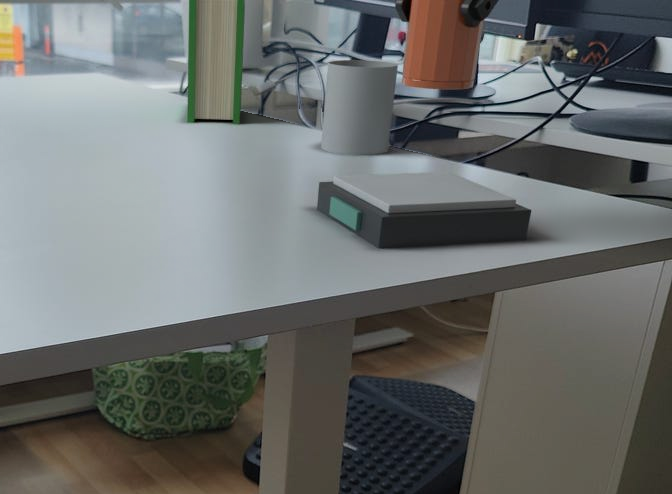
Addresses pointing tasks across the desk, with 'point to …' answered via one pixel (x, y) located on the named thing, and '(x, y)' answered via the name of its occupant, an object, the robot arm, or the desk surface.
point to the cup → (358, 106)
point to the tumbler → (440, 46)
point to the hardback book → (215, 59)
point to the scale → (421, 210)
